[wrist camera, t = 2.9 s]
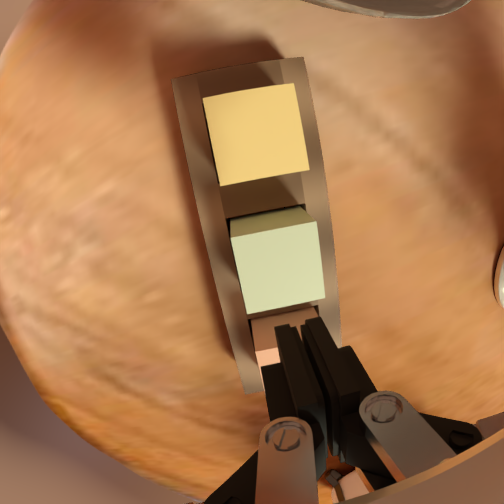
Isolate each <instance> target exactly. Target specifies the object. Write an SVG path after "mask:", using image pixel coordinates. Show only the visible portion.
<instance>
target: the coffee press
mask: <svg viewBox="0 0 504 504" xmlns="http://www.w3.org/2000/svg"><path fill="white" fill-rule="evenodd" d="M325 479H326V480H327V481H328V482H329V483H330V484H331V485H332V486H333V487H334V488H333V490H332V493H331V496H332V501H333V504H334V503H338V502H342V501H345V500H348V499H352V498H355V497H358V496H361V495H364V494H367V493H369V491H368V490H367V488H366V487H365V485H364V483H363V482H362V480H361V479H360V477H359V475H358V474H357V472H356V470H354V471H353V472H351V473H349V474H347V475H346V476H344V475H341V474H340V473H338V472H337V471H336V470H334V469H331V470H330V471H329V472H328V473H327V474H326V475H325ZM336 479H337V480H339V481H337V480H336Z"/></svg>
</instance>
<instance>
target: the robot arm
mask: <svg viewBox="0 0 504 504" xmlns="http://www.w3.org/2000/svg"><path fill="white" fill-rule="evenodd" d="M494 290H495V297H496V299H497V302H498V304H499V305H500V306H501V307H502V308H503V309H504V246H503V249H502V251H501V254H500V257H499V260H498V263H497V267H496V272H495V280H494ZM300 329H301V337H302V340H301V337H300V335H299V332H298V330H297V327H296V326H294V327H290V324H284V325H280V326H275V327H274V330H275V336H276V341H277V347H278V352H279V358H280V363H275V364H270V365H265V366H260V367H261V373H262V379H263V384H264V390H265V395H266V401H267V406H268V412H269V417H270V423H268V424H267V425H266V426H265V427H264V428H263V429H262V431H261V433H260V437H259V449H258V450H257V451H256V452H255V453H254V454H253V455H252V456H251V457H250V458H249V459H248V460H247V461H246V462H245V463H244V464H243V465H242V466H241V467H240V468H239V469H238V470H237V471H236V472H235V473H234V474H233V475H232V476H231V477H230V478H229V479H228V480H227V481H225V482H224V483H223V484H222V485H221V486H220V487H219V488H218V489H217V490H216V491H214V492H213V493H212V494H211V495H210V496H209V497H208V498H207V499H206V501H205V502H202V503H198V504H319V501H318V488H317V481H318V479H319V478H320V477H321V475H322V474H323V473H324V471H325V470H326V458H328V448H327V443H328V446H329V449H330V452H331V454H332V456H336V455H338V457H339V460H340V463H342V462H346V464H349V465H351V466H354V467H355V469H356V472H357V474H358V475H359V477H360V479H361V480H362V482H363V483H364V485H365V487H366V488H367V490H368V491H369V493H367V494H364V495H361V496H358V497H355V498H352V499H348V500H345V501H342V502H338V503H334V504H504V412H502V413H499V414H496V415H493V416H490V417H487V418H484V419H481V420H477V422H476V424H474V425H472V424H470V423H467V422H462V421H457V420H452V419H447V418H442V417H437V416H432V415H428V414H423V413H419V412H417V411H416V410H415V409H414V408H413V407H412V406H411V404H410V403H409V402H408V401H407V400H406V399H405V398H404V397H403V396H401V395H400V394H398V393H395V392H392V391H377V390H376V388H375V386H374V384H373V383H372V381H371V379H370V378H369V376H368V374H367V372H366V371H365V369H364V367H363V366H362V364H361V362H360V361H359V359H358V357H357V356H356V354H355V352H354V351H353V349H352V347H351V346H345V347H341V348H338V347H337V345H336V344H335V342H334V340H333V338H332V336H331V334H330V333H329V331H328V329H327V327H326V325H325V323H324V322H323V320H322V318H321V317H320V316H319V317H315V318H311V319H306V320H305V324H303V325H300ZM186 504H194V503H193V502H190V503H186Z"/></svg>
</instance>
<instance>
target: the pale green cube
mask: <svg viewBox="0 0 504 504" xmlns="http://www.w3.org/2000/svg"><path fill="white" fill-rule="evenodd" d="M230 235H231V243H232V247H233V252H234V256H235V261H236V266H237V270H238V275H239V279H240V284H241V288H242V293H243V297H244V302H245V306H246V311H247V314H251V313H256V312H261V311H266V310H271V309H276V308H281V307H286V306H290V305H295V304H300V303H304V302H309V301H314V300H318V299H323V298H325V290H324V280H323V271H322V262H321V253H320V245H319V237H318V229H317V221H316V220H315V219H313V218H312V217H311V216H310V215H309V214H308V213H307V212H306V211H304V210H303V209H302V208H301V207H300V206H293V207H288V208H283V209H277V210H272V211H267V212H262V213H256V214H251V215H246V216H241V217H236V218H231V219H230Z"/></svg>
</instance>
